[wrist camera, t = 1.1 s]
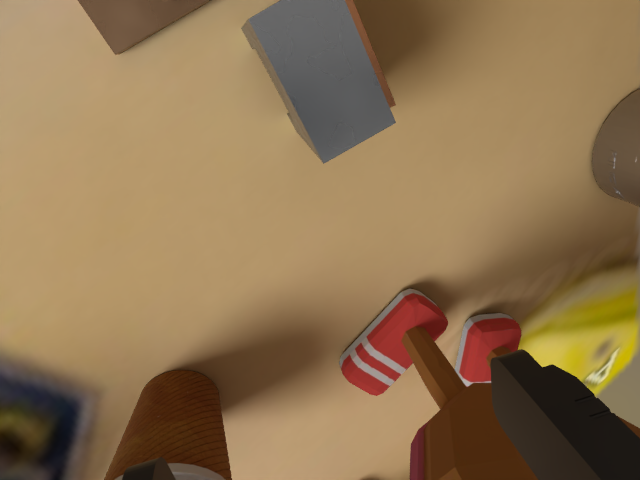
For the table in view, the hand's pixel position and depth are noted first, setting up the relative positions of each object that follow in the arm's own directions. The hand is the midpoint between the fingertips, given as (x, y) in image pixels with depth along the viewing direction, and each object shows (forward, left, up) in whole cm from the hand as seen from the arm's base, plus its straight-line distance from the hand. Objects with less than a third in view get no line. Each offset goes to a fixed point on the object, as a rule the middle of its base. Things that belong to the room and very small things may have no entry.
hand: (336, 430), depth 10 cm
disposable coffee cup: (+15, +13, -22) cm, 30 cm away
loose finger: (-6, -5, -22) cm, 23 cm away
